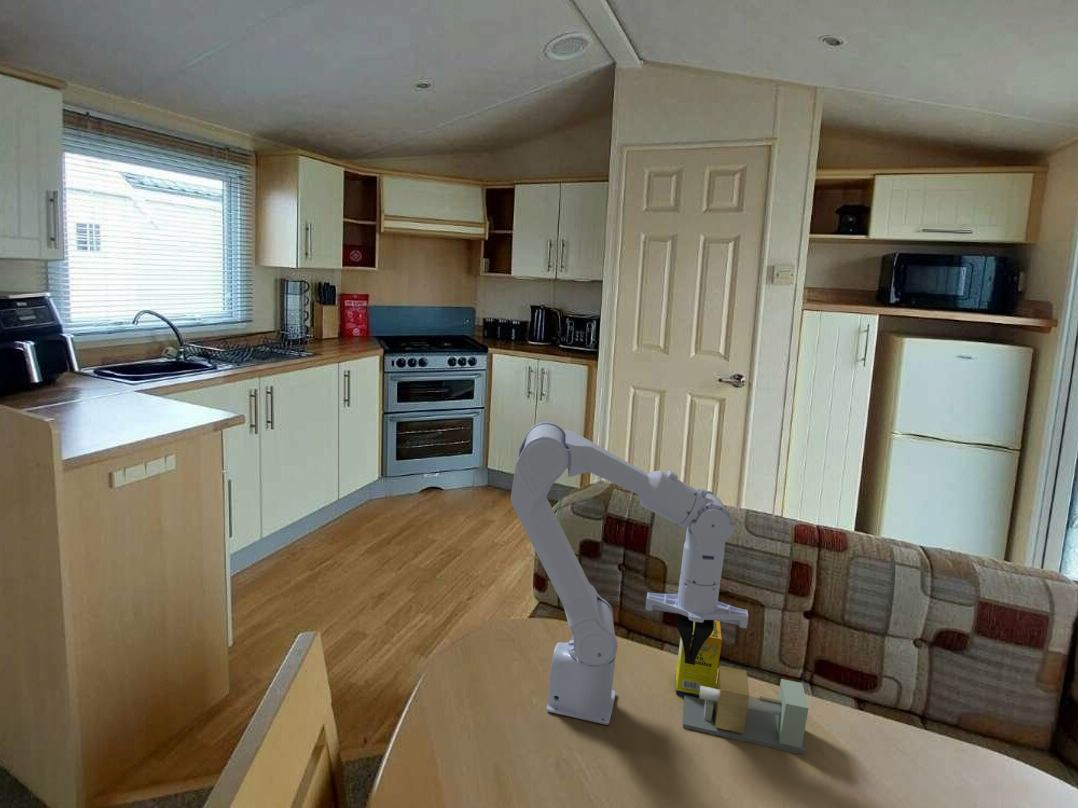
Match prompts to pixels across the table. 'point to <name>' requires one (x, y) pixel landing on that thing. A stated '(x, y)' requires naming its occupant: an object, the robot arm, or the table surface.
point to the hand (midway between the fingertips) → (689, 660)
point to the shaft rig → (756, 717)
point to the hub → (731, 699)
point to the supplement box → (699, 665)
